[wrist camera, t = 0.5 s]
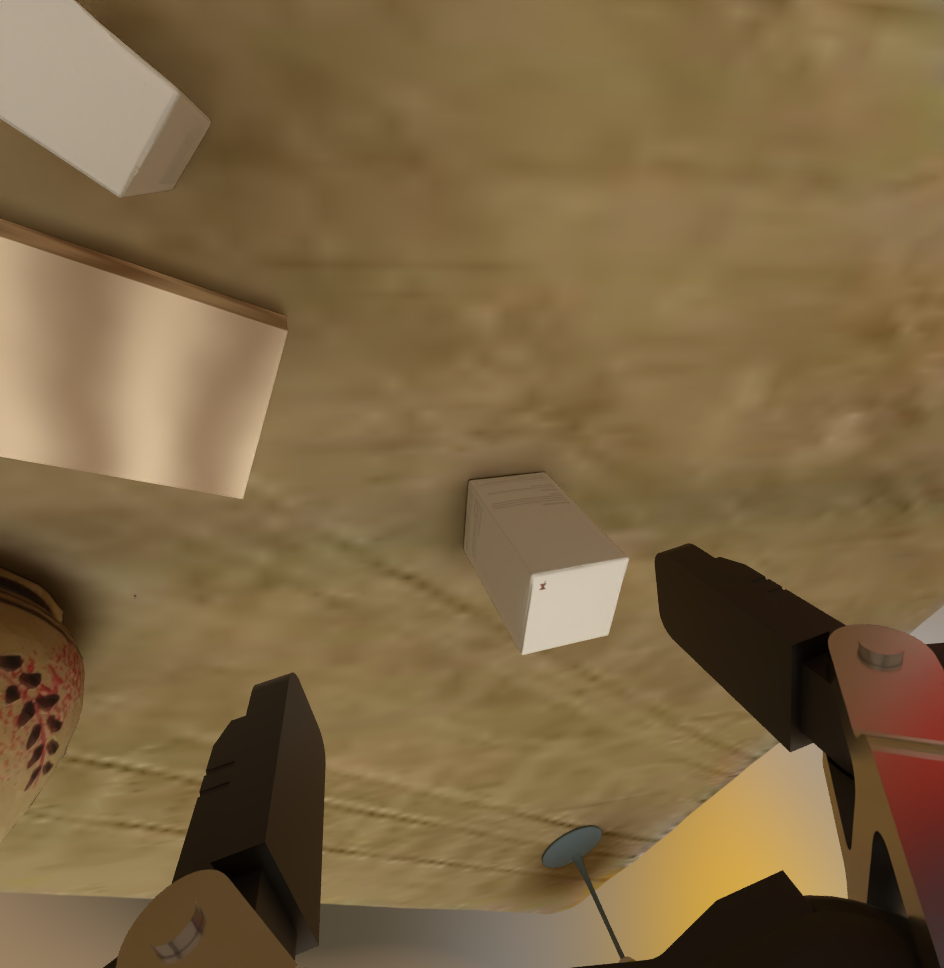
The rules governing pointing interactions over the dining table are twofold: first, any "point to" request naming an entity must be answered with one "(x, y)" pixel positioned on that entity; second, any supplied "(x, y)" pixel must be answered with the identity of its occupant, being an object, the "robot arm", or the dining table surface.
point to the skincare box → (93, 98)
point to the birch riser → (129, 368)
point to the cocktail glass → (579, 864)
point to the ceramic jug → (33, 693)
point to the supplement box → (542, 561)
